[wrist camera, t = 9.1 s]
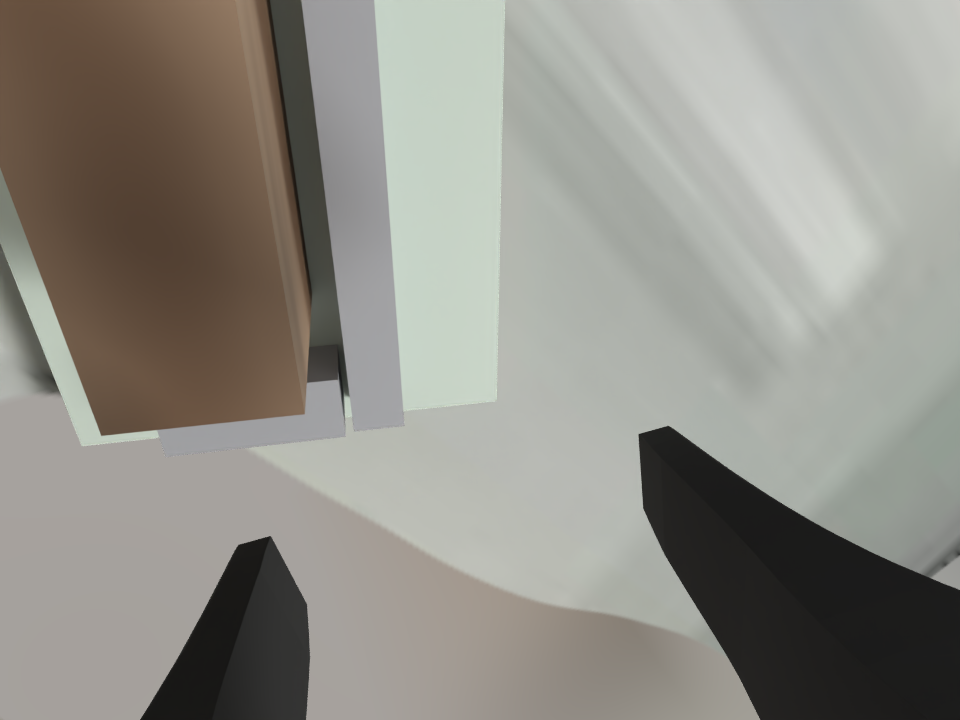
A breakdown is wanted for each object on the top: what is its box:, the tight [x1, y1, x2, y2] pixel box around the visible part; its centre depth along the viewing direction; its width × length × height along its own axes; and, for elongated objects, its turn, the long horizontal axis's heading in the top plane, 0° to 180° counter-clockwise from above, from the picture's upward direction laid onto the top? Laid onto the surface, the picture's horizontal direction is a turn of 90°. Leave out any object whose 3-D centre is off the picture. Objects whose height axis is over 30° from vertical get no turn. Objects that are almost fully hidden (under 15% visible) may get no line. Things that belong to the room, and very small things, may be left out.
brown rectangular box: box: [0, 0, 312, 436], centre depth 14 cm, size 4×9×6 cm, turn 0°
